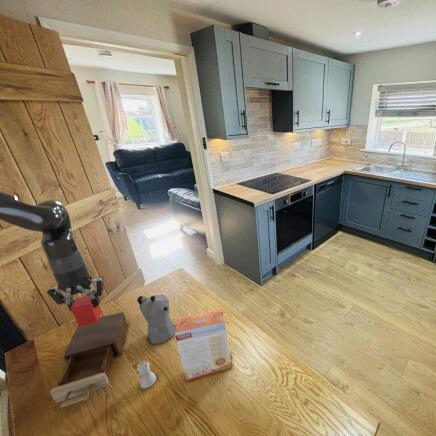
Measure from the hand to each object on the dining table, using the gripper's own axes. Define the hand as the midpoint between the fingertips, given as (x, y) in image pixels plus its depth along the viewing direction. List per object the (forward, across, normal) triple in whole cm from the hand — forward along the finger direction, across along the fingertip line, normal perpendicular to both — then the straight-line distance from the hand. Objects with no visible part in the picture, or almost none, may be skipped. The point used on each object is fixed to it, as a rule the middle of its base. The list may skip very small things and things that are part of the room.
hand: (86, 308), depth 79 cm
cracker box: (+18, -35, +23) cm, 45 cm away
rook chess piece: (+18, -17, +21) cm, 32 cm away
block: (+5, 0, 0) cm, 5 cm away
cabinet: (+17, 0, 0) cm, 17 cm away
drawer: (+17, 0, +14) cm, 22 cm away
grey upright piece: (+18, -19, +2) cm, 26 cm away
